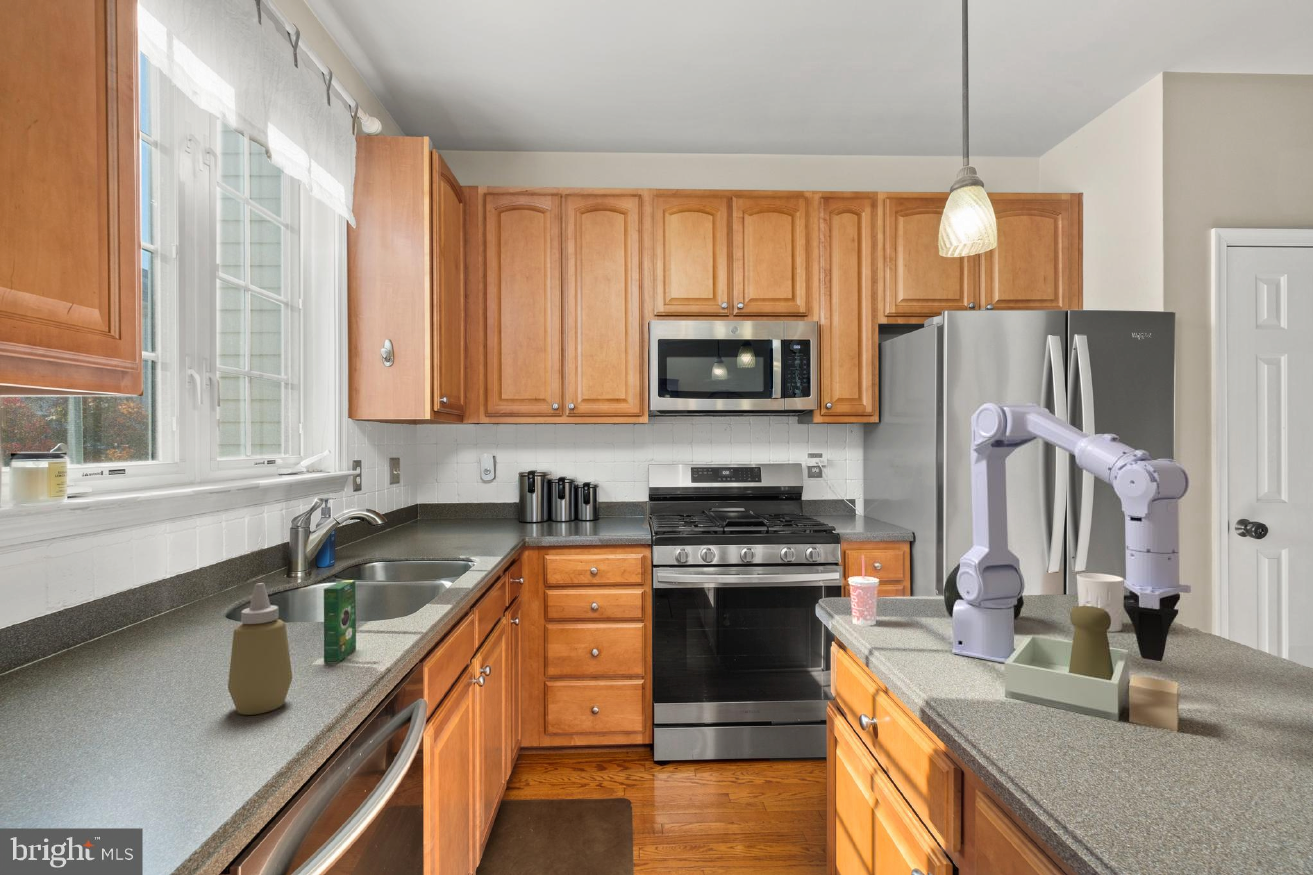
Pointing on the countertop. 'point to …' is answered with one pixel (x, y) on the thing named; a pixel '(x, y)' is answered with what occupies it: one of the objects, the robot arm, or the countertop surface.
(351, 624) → the coffee box
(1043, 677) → the tote
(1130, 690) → the maple cube
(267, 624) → the squeeze bottle
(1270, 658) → the countertop surface
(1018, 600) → the squash
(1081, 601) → the white cup
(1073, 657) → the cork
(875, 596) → the beverage cup
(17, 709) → the countertop surface
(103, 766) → the countertop surface
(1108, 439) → the robot arm
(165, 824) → the countertop surface
